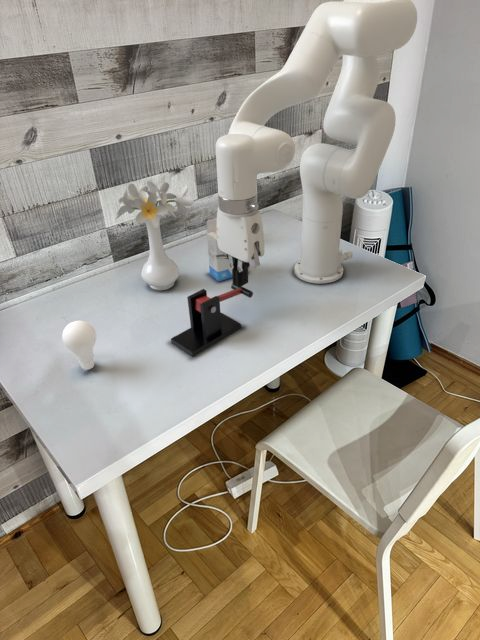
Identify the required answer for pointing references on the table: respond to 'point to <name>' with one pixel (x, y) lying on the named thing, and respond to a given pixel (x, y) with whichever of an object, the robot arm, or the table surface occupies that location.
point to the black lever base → (204, 325)
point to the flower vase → (155, 228)
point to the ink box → (216, 254)
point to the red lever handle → (225, 296)
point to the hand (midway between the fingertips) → (240, 284)
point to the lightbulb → (80, 342)
